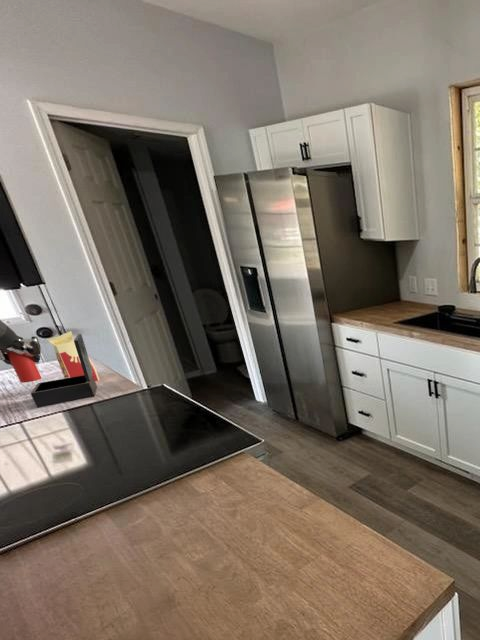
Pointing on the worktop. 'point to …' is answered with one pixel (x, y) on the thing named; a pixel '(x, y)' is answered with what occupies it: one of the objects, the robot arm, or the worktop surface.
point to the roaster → (63, 390)
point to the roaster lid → (83, 357)
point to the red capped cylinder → (24, 367)
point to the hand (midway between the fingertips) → (25, 361)
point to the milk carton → (69, 356)
